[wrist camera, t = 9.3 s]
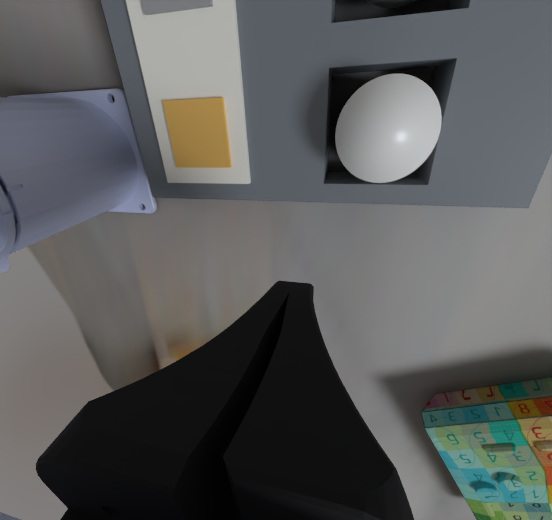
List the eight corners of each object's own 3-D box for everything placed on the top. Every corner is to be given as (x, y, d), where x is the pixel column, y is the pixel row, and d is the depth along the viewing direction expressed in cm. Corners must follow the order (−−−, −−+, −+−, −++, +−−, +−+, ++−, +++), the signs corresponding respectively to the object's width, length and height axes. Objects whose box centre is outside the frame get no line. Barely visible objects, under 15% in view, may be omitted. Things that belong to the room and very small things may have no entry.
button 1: (335, 165, 16) (332, 182, 12) (340, 83, 14) (338, 77, 10) (410, 165, 15) (428, 183, 12) (426, 78, 13) (454, 69, 10)
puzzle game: (649, 422, 15) (669, 575, 22) (587, 357, 19) (619, 502, 26) (427, 440, 20) (496, 560, 27) (414, 385, 24) (477, 500, 31)
